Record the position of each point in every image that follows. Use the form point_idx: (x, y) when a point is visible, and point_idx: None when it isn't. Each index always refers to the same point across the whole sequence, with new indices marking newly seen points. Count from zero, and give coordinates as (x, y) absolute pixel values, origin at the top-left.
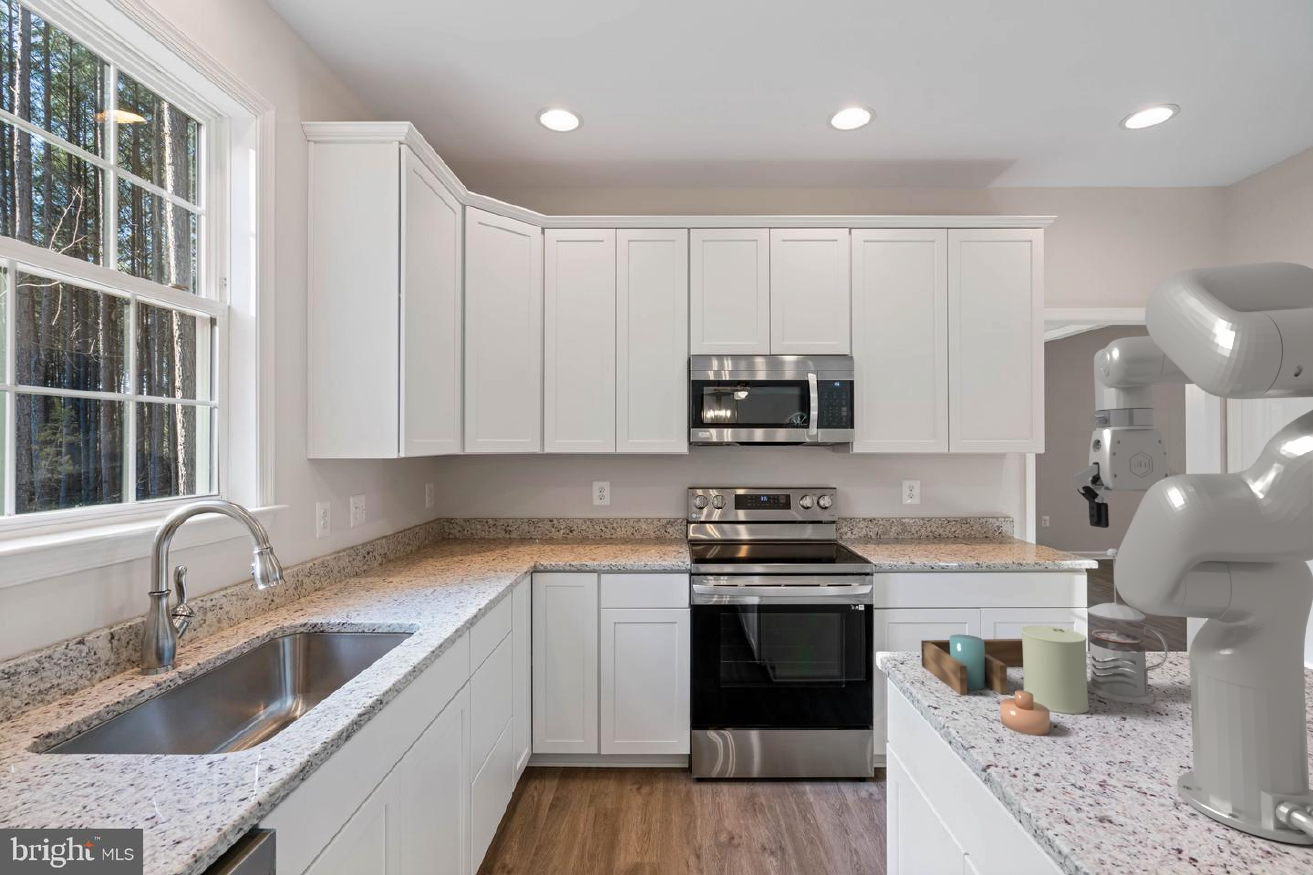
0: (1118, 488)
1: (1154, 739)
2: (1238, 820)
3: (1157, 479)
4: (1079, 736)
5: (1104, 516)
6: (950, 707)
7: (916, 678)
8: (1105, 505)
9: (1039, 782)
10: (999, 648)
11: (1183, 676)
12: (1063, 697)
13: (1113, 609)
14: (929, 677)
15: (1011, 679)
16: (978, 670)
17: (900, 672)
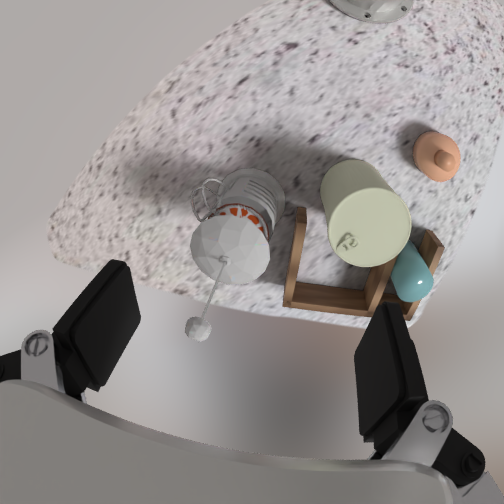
0: (414, 471)
1: (328, 90)
2: None
3: (30, 462)
4: (401, 117)
5: (407, 339)
6: (462, 208)
7: (434, 275)
8: (415, 384)
9: (490, 75)
10: (326, 300)
11: (142, 225)
12: (374, 170)
13: (244, 246)
14: None
15: None
16: (409, 250)
17: (435, 290)
